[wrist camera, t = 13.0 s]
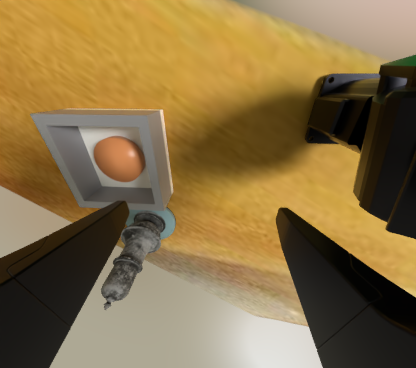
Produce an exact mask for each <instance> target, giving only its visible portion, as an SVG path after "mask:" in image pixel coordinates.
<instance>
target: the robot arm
mask: <svg viewBox="0 0 416 368" xmlns="http://www.w3.org/2000/svg"><path fill="white" fill-rule="evenodd" d="M329 78H332V81H331V82H330V83H329V82H328V80H329ZM308 125H309V127H308V130H307V133H306V136H305V141H306V142H308V143H325V144H341V145H343V146H345V147H347V148H349V149H351V150H353V151H355V152H358V153H360V154H361V155H360V159H359V164H358V169H357V173H356V178H355V183H354V190H353V192H354V194H355V196H356V197H357V199H358V200H359V201H360V203H359V205H360V207H362V208H363V209H364V210H366V211H367V212H368V213H370V214H372V215H374V216H375V217H377V218H379V219H381V220H383V221H385V222H388V223H387V226H386V230H387V231H389V232H392V233H395V234H399V235H403V236H407V237H411V238H414V239H416V55H413V56H409V57H406V58H403V59H399V60H396V61H392V62H389V63H386V64H382V65H381V66H380V71H379V74H329V75H327V76H326V77H325V78H324V80H323V83H322V87H321V90H320V93H319V96H318V98H317V99H316V100H315V103H314V106H313V110H312V113H311V116H310V119H309V122H308ZM310 137H312V139H311V140H309V138H310ZM129 213H130V212H129V208H128V205H127V202H126V201H124V200H118V201H116V202H114V203H112V204H110V205H108V206H106V207H104V208H102V209H100V210H98V211H96V212H94V213H92V214H90V215H88V216H86V217H84V218H82V219H80V220H78V221H76V222H74V223H72V224H70V225H68V226H66V227H64V228H62V229H60V230H58V231H56V232H54V233H52V234H50V235H49V236H46V237H44V238H42V239H40V240H38V241H36V242H34V243H32V244H30V245H28V246H26V247H24V248H22V249H19V250H17V251H15V252H13V253H11V254H8V255H6V256H4V257H2V258H0V368H49V367H50V365H51V363H52V361H53V360H54V358H55V356H56V354H57V352H58V350H59V348H60V347H61V345H62V343H63V341H64V339H65V338H66V336H67V334H68V332H69V330H70V328H71V326H72V324H73V323H74V321H75V319H76V317H77V315H78V313H79V312H80V310H81V308H82V306H83V304H84V302H85V301H86V299H87V297H88V295H89V293H90V291H91V290H92V288H93V286H94V284H95V282H96V280H97V279H98V276H99V275H100V273H101V271H102V269H103V267H104V266H105V264H106V262H107V260H108V258H109V256H110V255H111V253H112V251H113V249H114V247H115V245H116V244H117V242H118V240H119V238H120V236H121V233H122V231H123V229H124V226H125V224H126V221H127V219H128V217H129ZM276 225H277V229H278V234H279V238H280V243H281V247H282V250H283V253H284V256H285V259H286V262H287V265H288V268H289V270H290V273H291V276H292V279H293V282H294V285H295V288H296V291H297V294H298V297H299V299H300V302H301V305H302V308H303V311H304V314H305V317H306V320H307V323H308V326H309V328H310V331H311V334H312V337H313V340H314V343H315V346H316V348H317V352H318V355H319V358H320V361H321V363H322V366H323V368H416V297H414V296H413V295H411V294H409V293H408V292H406V291H405V290H403V289H402V288H400V287H399V286H397V285H396V284H394V283H393V282H391V281H389V280H388V279H386V278H385V277H383V276H382V275H380V274H379V273H377V272H376V271H374V270H373V269H372V268H370V267H369V266H367V265H366V264H364V263H363V262H362V261H360V260H359V259H357V258H356V257H355V256H353V255H352V254H350V253H349V252H348V251H346V250H345V249H343V248H342V247H341V246H339V245H338V244H337V243H335V242H334V241H332V240H331V239H330V238H328V237H327V236H326V235H324V234H323V233H321V232H320V231H319V230H317V229H316V228H315V227H313V226H312V225H310V224H309V223H308V222H306V221H305V220H303V219H302V218H301V217H299V216H298V215H297V214H295V213H294V212H292V211H291V210H290V209H288V208H279V210H278V213H277V216H276Z"/></svg>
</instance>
